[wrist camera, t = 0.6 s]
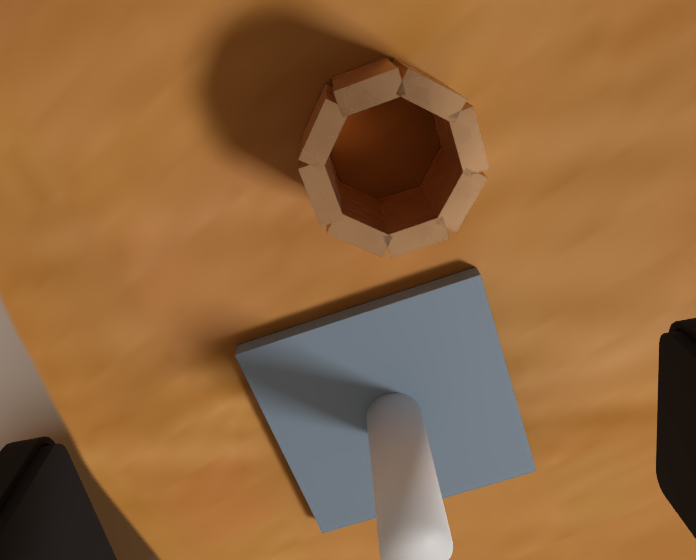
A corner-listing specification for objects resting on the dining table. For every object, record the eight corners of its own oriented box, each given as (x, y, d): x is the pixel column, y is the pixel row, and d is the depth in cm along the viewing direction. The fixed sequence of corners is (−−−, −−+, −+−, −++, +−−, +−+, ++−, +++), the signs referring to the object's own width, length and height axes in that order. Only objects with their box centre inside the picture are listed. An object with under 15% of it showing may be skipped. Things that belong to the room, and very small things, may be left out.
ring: (435, 39, 27) (457, 45, 22) (475, 187, 30) (502, 220, 25) (284, 94, 28) (276, 112, 23) (336, 234, 30) (339, 275, 26)
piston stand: (475, 266, 31) (538, 374, 22) (531, 459, 36) (600, 611, 27) (237, 345, 33) (203, 477, 24) (322, 520, 38) (321, 685, 29)
